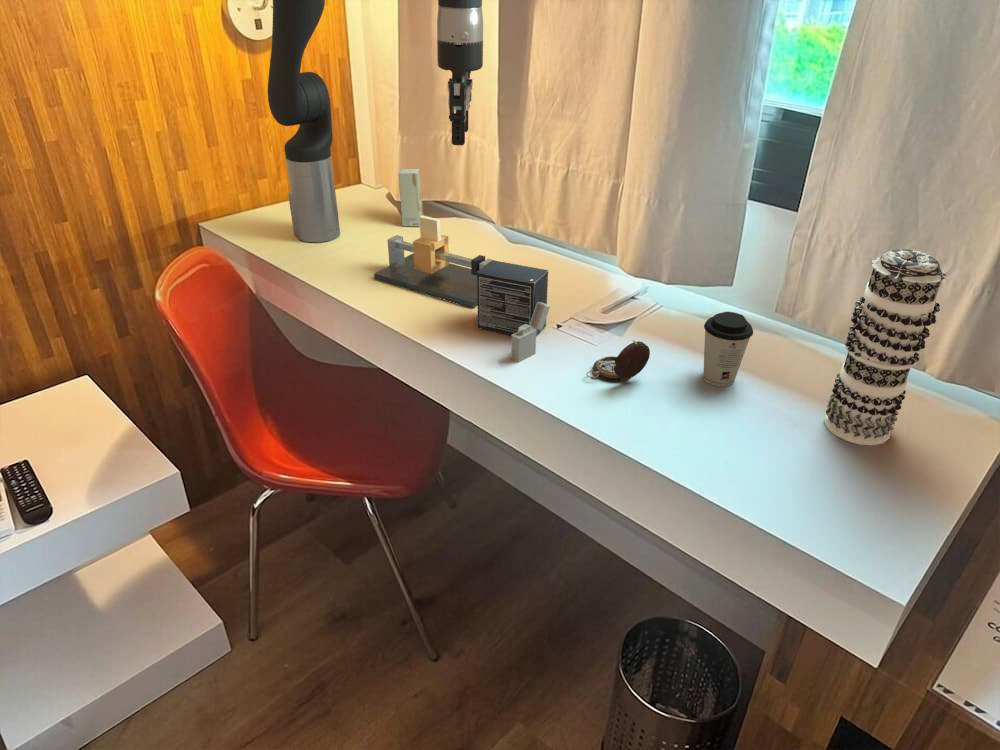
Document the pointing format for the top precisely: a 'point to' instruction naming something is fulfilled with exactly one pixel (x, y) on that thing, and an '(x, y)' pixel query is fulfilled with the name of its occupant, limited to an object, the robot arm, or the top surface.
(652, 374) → the top surface
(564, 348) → the top surface
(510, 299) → the small box
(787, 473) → the top surface
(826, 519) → the top surface
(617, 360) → the compass
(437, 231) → the orange slider carriage
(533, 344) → the lighter
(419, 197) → the skincare box
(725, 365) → the coffee cup
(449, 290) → the linear slide rail
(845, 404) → the decorative candle
